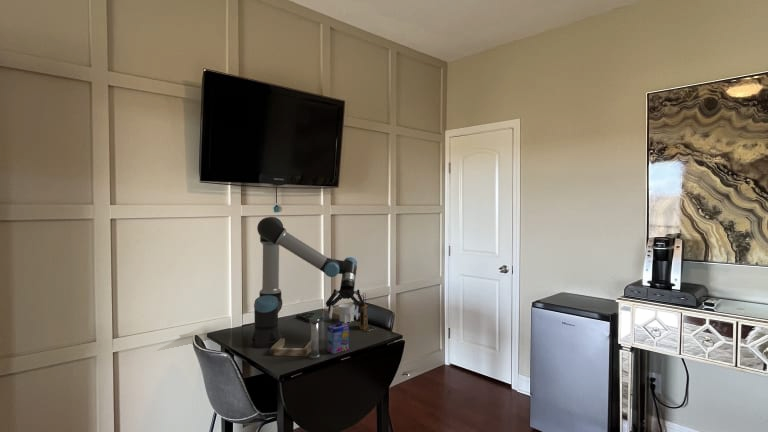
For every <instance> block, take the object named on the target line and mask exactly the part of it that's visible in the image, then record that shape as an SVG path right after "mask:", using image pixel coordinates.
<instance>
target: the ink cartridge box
mask: <svg viewBox="0 0 768 432" xmlns="http://www.w3.org/2000/svg"><path fill="white" fill-rule="evenodd" d="M326 337H327V340H326V345H327V346H326V347H327V349H326V351H327V352H329V353H330V354H332V355H335V354H337V353H341V351H342V352H344V350H345V351H348V350H349V345H350V343H349V342H350V339H349V338H350V325H348V323H343V321H338V322H336V324H333V325H329V326H327V336H326ZM347 349H348V350H347Z"/></svg>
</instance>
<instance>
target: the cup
mask: <svg viewBox="0 0 768 432" xmlns="http://www.w3.org/2000/svg"><path fill="white" fill-rule="evenodd" d="M337 307H338V312H339V313H338V314H339V322H341V321H343V322H344V324H348V323H347V322H351V321H353V322H354V318H355V310H356V309H355V308H356V304H355V303H354V304H353V303H341V304H339V305H338V306H337ZM351 323H352V322H351Z"/></svg>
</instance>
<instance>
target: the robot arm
mask: <svg viewBox="0 0 768 432" xmlns="http://www.w3.org/2000/svg"><path fill="white" fill-rule="evenodd" d="M256 230H257V233H258V235H259V242H260V244H262V289H261V290H260V291H258V292H259V296H258V297H257V298H255V300H254V304H253V308H254V312H253V313H254V315H253V316H254V317H253V318H254V330H253V333H252V336H251V338H250V345H251V347H255V348H260V349H265V348H271V347H272V346H273V345H274V344H276V343H277V342H278V341H279V340H280V339H281V338H282V334H281V331H280V328H279V312H280V311H281V310H282V307H283V299H282V289H280V288H279V287H280V284H279V283H280V281H279V280H280V277H279V276H280V274H279V273H280V247H282V248H284V249H285V250H286V251H288V252H291V253H292V254H293V255H295V256H297V257H298V258H300V259H302V260H303V261H305V262H307V264H310V265H312V266H313V267H315V268H316V269H317V270H320V271H321V272H323V273H324V274H325V275H326V276H327V277H329V278H335V277H336V276H337V275H341V281H340V288H339V290H338V289H333V292H332V293H331V295H330V297H329V298H328V299H327V300H326V302H325V306H326V307H328V310H327V312H328V317H329V320H332V317H333V311H334V306H335V305H336V304H337V303H338V302H339V301H341V300H342V299H343V300H344V299H345V300H346V299H347V300H349V299H351V300H352V302H353V303H354V305H355V306H356V309H355V310H356V311H355V320H356V321H357V320H359V314H360V312H361V307H365V305H366V304H365V301H364V302H363V297H362V296H361V295H362V294H361V291H360V289H357V290H355V286H356V278H357V277H356V275H357V269H358V261H357V260H356V258H355V257H351V256H349V257H346V258H345V259H343V260H340V259H336V258H335V259H334V258H330V257H328V256H326V255H324V254H322V253H321V252H319V251H318V250H316V249H315V248H313V247H311V246H310V245H309V244H306V243H305V242H303V241H302V240H300V239H299V238H298V237H295V236H294V235H292V234H291V233H289V232H287V229H286V228H285V227H284V224H283V222H282V220H280V219H279V218H278V217H276V216H268V217H264V218H262V219H261V220H259V222H258V224H257V229H256ZM354 295H356V296H357V297H358V300H357V298H356V297H355V296H354Z"/></svg>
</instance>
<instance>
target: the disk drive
mask: <svg viewBox="0 0 768 432" xmlns="http://www.w3.org/2000/svg"><path fill="white" fill-rule="evenodd" d="M314 317H318V318H320V321H323V320H324V317H323V316H322V315H321V314H317V313H314V312H311V311H309V312H305V313H301V314H296V317H295V318H296V319H297V318H298V319H297V320H300V319H301V320H300V321H303V320H304V321H303V322H306V321H307V322H306V323H309V319H310V318H314ZM322 319H323V320H322Z"/></svg>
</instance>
